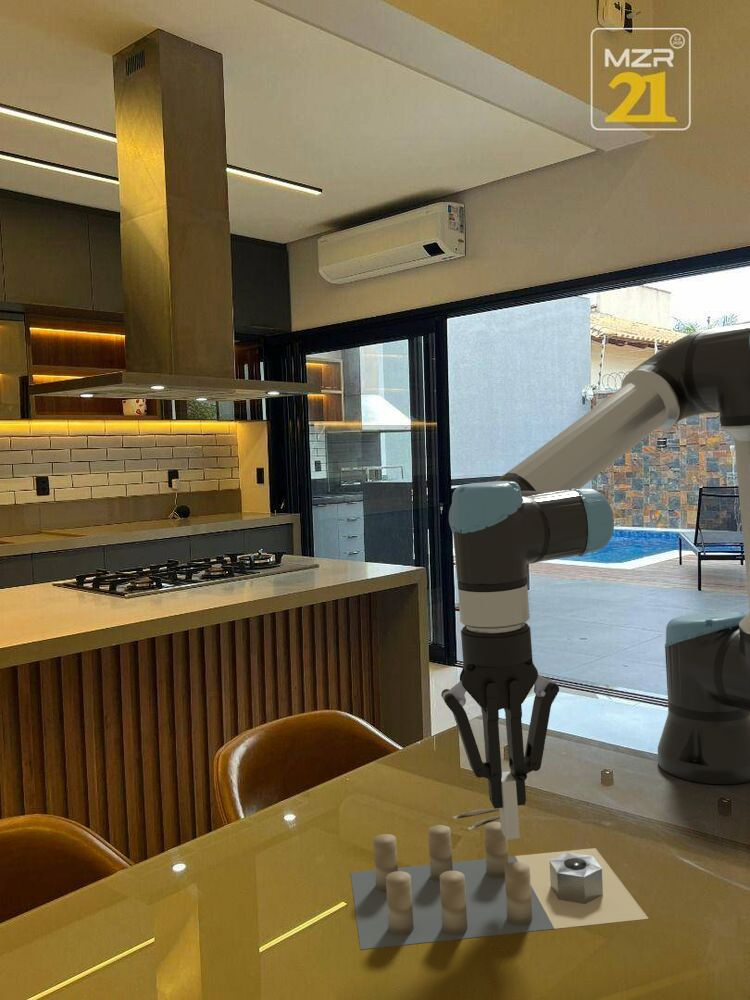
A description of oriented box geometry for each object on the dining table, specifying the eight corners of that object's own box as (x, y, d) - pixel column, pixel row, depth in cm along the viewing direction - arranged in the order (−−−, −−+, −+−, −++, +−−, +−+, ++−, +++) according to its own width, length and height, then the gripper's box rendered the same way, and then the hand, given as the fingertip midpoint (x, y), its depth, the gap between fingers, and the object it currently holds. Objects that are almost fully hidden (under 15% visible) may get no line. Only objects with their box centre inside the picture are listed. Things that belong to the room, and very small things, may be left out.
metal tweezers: (464, 840, 112) (464, 825, 112) (445, 827, 117) (445, 812, 116) (572, 818, 120) (572, 803, 120) (551, 806, 124) (551, 792, 124)
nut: (589, 875, 99) (588, 849, 99) (607, 901, 93) (606, 873, 93) (546, 879, 99) (545, 853, 99) (562, 906, 93) (561, 878, 93)
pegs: (504, 864, 103) (502, 819, 103) (536, 926, 89) (534, 875, 89) (374, 877, 102) (371, 831, 101) (386, 942, 88) (383, 890, 88)
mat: (595, 852, 106) (595, 848, 106) (648, 924, 90) (648, 918, 90) (350, 877, 103) (350, 872, 103) (360, 955, 87) (360, 949, 87)
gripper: (543, 611, 99) (557, 812, 100) (430, 623, 97) (446, 825, 99) (563, 625, 91) (578, 841, 93) (441, 638, 90) (458, 857, 92)
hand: (510, 833), depth 96 cm, fingers closed
